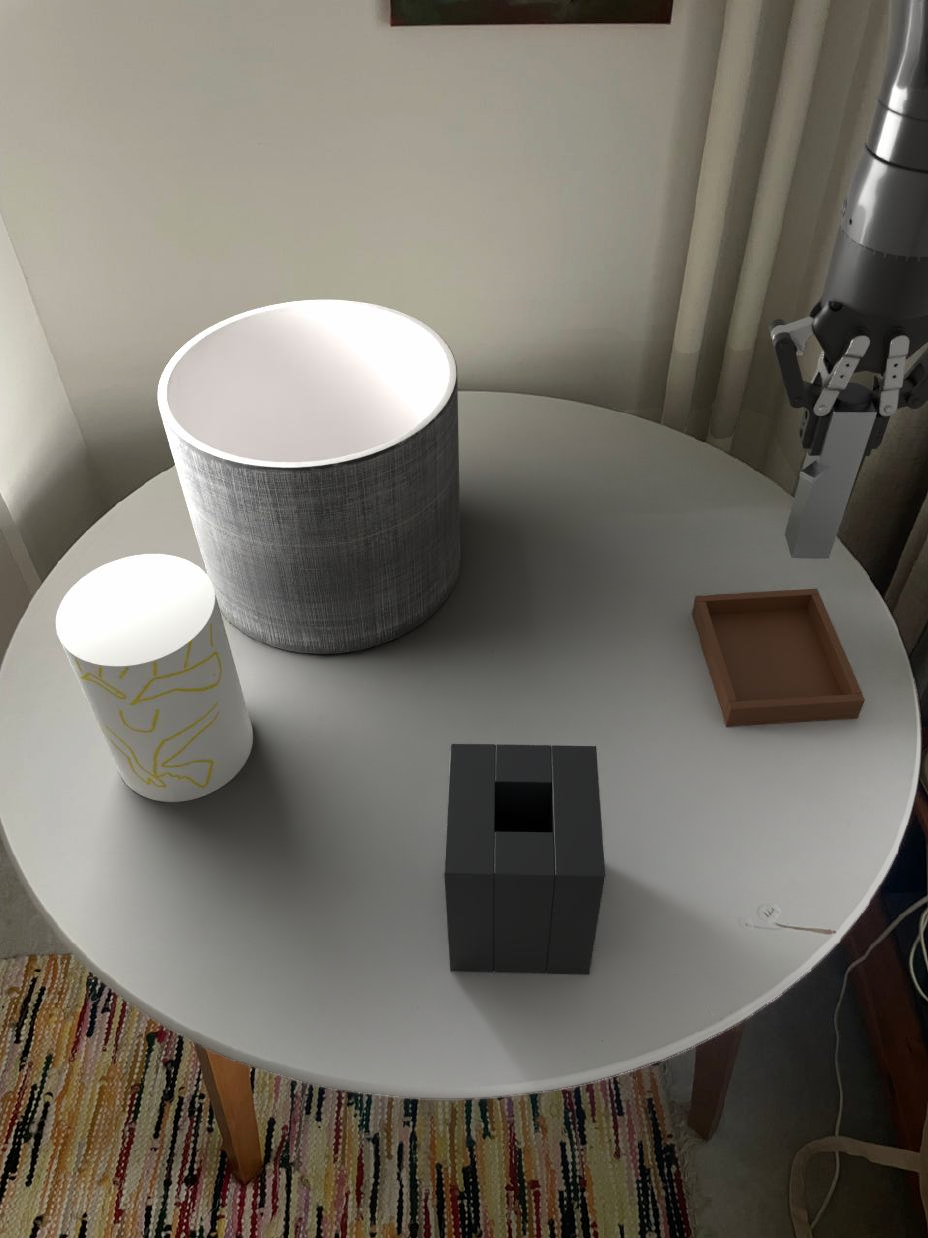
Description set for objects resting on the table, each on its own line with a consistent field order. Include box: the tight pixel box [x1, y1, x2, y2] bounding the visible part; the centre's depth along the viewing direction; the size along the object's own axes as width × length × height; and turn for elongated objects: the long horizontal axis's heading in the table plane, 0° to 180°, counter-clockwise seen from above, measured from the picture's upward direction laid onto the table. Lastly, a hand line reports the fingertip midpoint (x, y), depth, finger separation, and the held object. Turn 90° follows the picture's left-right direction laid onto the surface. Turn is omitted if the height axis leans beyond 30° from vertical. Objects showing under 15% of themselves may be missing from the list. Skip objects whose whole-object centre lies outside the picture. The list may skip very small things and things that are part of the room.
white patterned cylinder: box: [55, 553, 254, 803], centre depth 82 cm, size 12×12×17 cm
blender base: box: [443, 743, 606, 976], centre depth 72 cm, size 10×10×14 cm
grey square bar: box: [784, 381, 877, 560], centre depth 78 cm, size 6×6×15 cm
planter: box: [157, 299, 462, 655], centre depth 96 cm, size 25×25×22 cm
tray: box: [691, 588, 866, 728], centre depth 93 cm, size 14×12×2 cm
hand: (836, 448), depth 76 cm, fingers closed on grey square bar, 3 cm apart
